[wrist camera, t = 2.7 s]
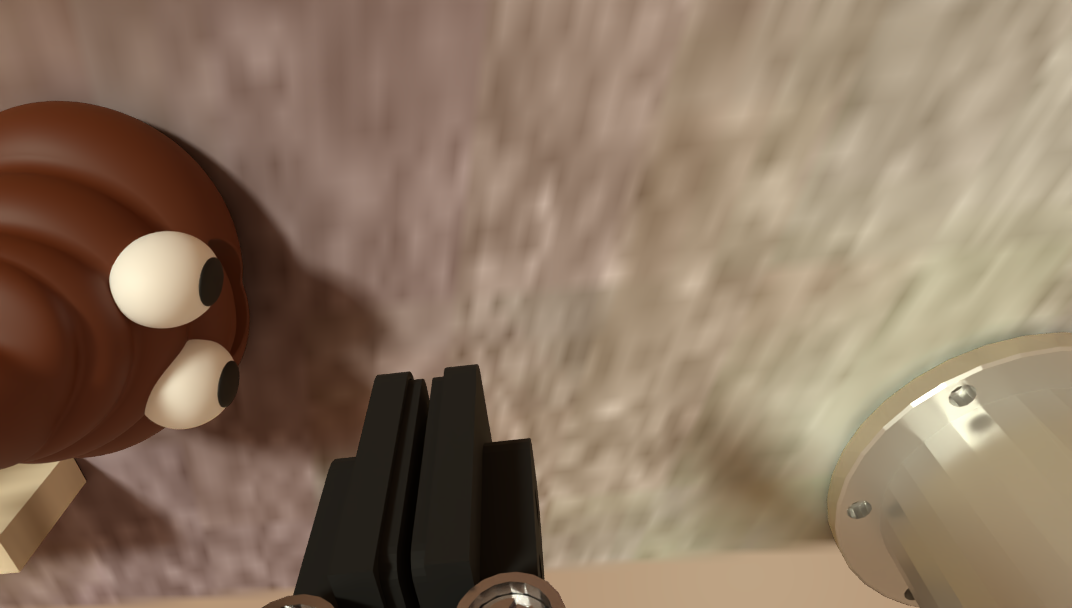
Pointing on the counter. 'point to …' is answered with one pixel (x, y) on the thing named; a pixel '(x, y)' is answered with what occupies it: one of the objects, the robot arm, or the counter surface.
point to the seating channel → (33, 507)
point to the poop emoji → (110, 285)
